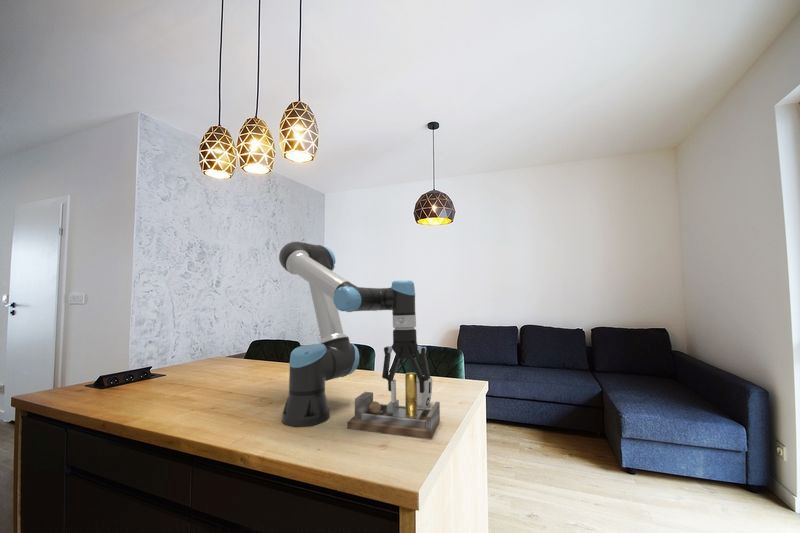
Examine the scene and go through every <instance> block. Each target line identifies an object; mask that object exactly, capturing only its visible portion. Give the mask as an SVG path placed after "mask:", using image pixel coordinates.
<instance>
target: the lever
mask: <svg viewBox="0 0 800 533" xmlns="http://www.w3.org/2000/svg"><path fill="white" fill-rule="evenodd" d="M404 377H405V381H404V382H405V383H404V385H405V396H404V397H405V409H404V408H399V406H400V402H399V401H400V400H399V399H396V401H395V402H394V403H391V401H389V402H388V403H387V404H386V405H387V416H391V417H400V418H409V419H418V420H421V419H422V417H423V410H417V375H416V372H410V371H409V372H406V373H405V376H404Z"/></svg>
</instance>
